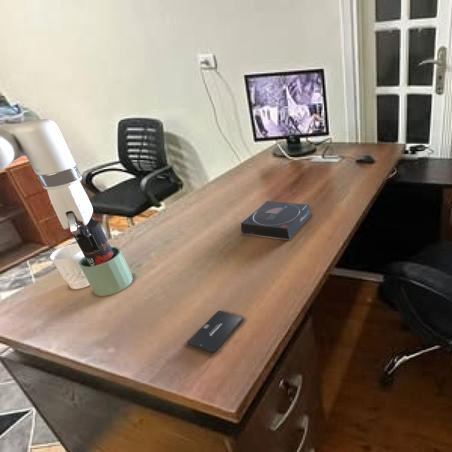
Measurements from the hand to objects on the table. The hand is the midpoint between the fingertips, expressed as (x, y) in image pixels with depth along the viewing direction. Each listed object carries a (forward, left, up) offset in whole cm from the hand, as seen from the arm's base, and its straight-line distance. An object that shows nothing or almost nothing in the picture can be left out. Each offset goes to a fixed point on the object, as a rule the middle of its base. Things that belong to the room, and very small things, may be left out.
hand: (93, 243), depth 87 cm
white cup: (-8, +6, -13) cm, 16 cm away
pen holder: (0, 0, -13) cm, 13 cm away
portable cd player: (+48, +8, -13) cm, 50 cm away
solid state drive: (+23, -32, -13) cm, 41 cm away
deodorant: (0, 0, -10) cm, 10 cm away
